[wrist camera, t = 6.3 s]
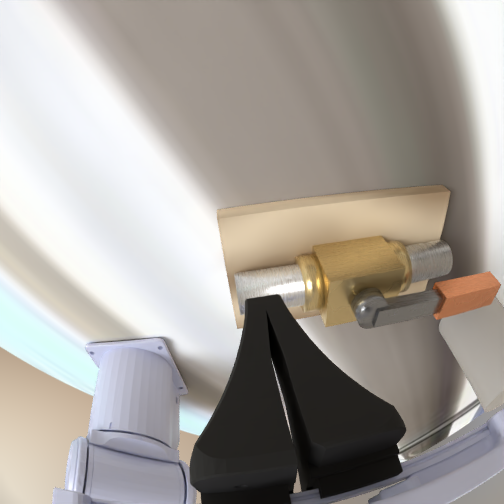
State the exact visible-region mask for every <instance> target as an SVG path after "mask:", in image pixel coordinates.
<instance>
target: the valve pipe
mask: <svg viewBox="0 0 504 504" xmlns="http://www.w3.org/2000/svg"><path fill="white" fill-rule="evenodd" d="M452 264H453V258H452V252H451V249H450V247H449V245H448V244H447V243H446V242H445V241H443V240H436V241H431V242H425V243H419V244H413V245H408V246H404V245H403V244H402V243H401V242H400V241H390V242H386V241H385V240H384V239H383V237H382V236H381V235H380V236H373V237H366V238H360V239H353V240H347V241H340V242H333V243H327V244H320V245H313V246H312V254H308V255H301V256H296V257H295V264H292V265H286V266H280V267H273V268H267V269H260V270H253V271H247V272H240V273H234V276H235V284H236V291H237V297H238V304H239V310H240V315H245V300H246V299H249V298H255V297H262V296H268V295H274V294H279V295H280V296H281V297H282V299H283V301H284V303H285V305H286V306H287V308H290V307H296V306H300V307H301V309H302V311H303V312H304V313H305V312H310V311H316V310H319V312H320V314H321V317H322V320H323V322H324V325H325V327H329V326H334V325H338V324H343V323H348V322H352V321H357V319H356V317H355V315H354V313H353V311H352V309H351V302H352V300H353V298H354V297H355V296H356V295H357V294H358V293H359V292H361V291H363V290H365V289H367V288H377V289H379V290H380V291H381V292H382V294H383V296H384V297H385V298H389V297H395V296H399V293H402V292H405V291H407V290H408V289H409V287H410V284H411V283H415V282H419V281H423V280H428V279H432V278H436V277H440V276H444V275H447V274H448V273H449V272H450V271H451V269H452Z"/></svg>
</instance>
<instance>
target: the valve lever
mask: <svg viewBox="0 0 504 504" xmlns="http://www.w3.org/2000/svg"><path fill="white" fill-rule="evenodd" d="M500 286H501V284H500V283H499V282H498V280H497V279H496V278H495V277H494V276H493V275H492V274H491V272H485V273H481V274H476V275H471V276H466V277H461V278H456V279H451V280H446V281H441V282H436V283H435V284H434V286H433V289H432V290H427V291H422V292H417V293H412V294H406V295H401V296H395V297H389V298H385V297H384V296H383V294H382V292H381V291H380V290H379V289H377V288H367V289H365V290H363V291H361V292H359V293H358V294H357V295H356V296H355V297H354V298H353V300H352V302H351V309H352V311H353V313H354V315H355V317H356V319H357V321H358V324H359V325H360V327H362V328H366V329H369V328H374V327H379V326H384V325H389V324H393V323H398V322H403V321H407V320H412V319H416V318H420V317H425V316H429V315H434V317H435V318H436V320H438V319H442V318H445V317H449V316H453V315H457V314H460V313H464V312H467V311H471V310H474V309H477V308H481V307H484V306H487V305H490V304H491V303H492V302H493V300H494V298H495V296H496V294H497V292H498V290H499V288H500Z"/></svg>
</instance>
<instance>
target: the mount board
mask: <svg viewBox="0 0 504 504" xmlns="http://www.w3.org/2000/svg"><path fill="white" fill-rule="evenodd" d="M449 197H450V191H449V190H448V189H447V188H445V187H444V186H443V185H431V186H418V187H406V188H394V189H383V190H373V191H363V192H353V193H343V194H334V195H325V196H317V197H308V198H300V199H292V200H284V201H276V202H269V203H261V204H254V205H247V206H240V207H233V208H226V209H219V210H217V220H218V226H219V232H220V237H221V243H222V249H223V254H224V260H225V266H226V271H227V277H228V282H229V287H230V293H231V298H232V304H233V309H234V314H235V319H236V324H237V329H239V328H243V326H244V318H245V315H240V310H239V304H238V297H237V291H236V284H235V276H234V273H240V272H247V271H253V270H260V269H267V268H273V267H280V266H286V265H292V264H295V257H296V256H301V255H308V254H312V246H313V245H320V244H327V243H333V242H340V241H347V240H353V239H360V238H366V237H373V236H380V235H381V236H382V237H383V239H384V240H385V241H386V242H390V241H400V242H401V243H402V244H403V245H404V246H408V245H413V244H419V243H425V242H431V241H436V240H440V237H441V233H442V229H443V225H444V220H445V216H446V211H447V207H448V202H449ZM427 282H428V280H423V281H419V282H415V283H411V284H410V287H409V289H408V290H407V291H405V292H402V293H399V296H401V295H406V294H412V293H417V292H422V291H425V289H426V286H427ZM288 310H289V311H290V313H291V314H292V316H293V317H294V319H300V318H306V317H311V316H317V315H321V314H320V312H319V310H316V311H310V312H305V313H304V312H303V311H302V309H301V307H300V306H296V307H290V308H288Z"/></svg>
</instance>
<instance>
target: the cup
mask: <svg viewBox="0 0 504 504" xmlns="http://www.w3.org/2000/svg"><path fill="white" fill-rule="evenodd" d="M439 331H440V333H441V335H442V336H443V338H444V340H445V341H446V343H447V344H448V346H449V348H450V349H451V351H452V353H453V355H454V356H455V358H456V360H457V361H458V363H459V365H460V367H461V368H462V370H463V372H464V374H465V375H466V377H467V379H468V381H469V383H470V384H471V386H472V388H473V390H474V392H475V394H476V396H477V398H478V399H479V401H480V403H481V405H482V407H483V409H484V411H485V412H489V411H491V410H493V409H495V408H497V407H499V406H500V405H502V404H503V403H504V307H503V306H502V304H501V303H500V302H499V301H498V299H497V298H496V297H495V298H494V300H493V302H492V303H491V304H490V305H487V306H484V307H481V308H477V309H474V310H471V311H467V312H464V313H460V314H457V315H453V316H449V317H445V318H442V319H441V321H440V324H439Z"/></svg>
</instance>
